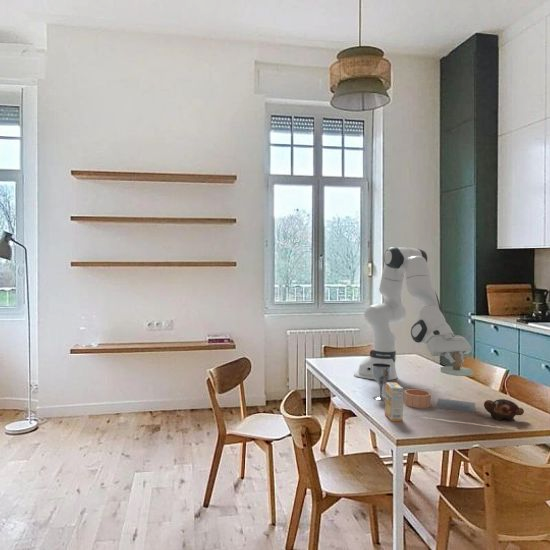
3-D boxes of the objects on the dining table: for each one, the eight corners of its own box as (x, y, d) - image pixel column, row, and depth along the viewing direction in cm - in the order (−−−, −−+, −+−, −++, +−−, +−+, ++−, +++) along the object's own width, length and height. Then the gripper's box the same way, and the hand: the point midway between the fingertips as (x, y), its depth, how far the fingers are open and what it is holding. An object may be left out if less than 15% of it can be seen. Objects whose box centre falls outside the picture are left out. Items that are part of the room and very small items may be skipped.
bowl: (402, 407, 207) (402, 394, 207) (405, 400, 217) (405, 387, 217) (429, 410, 203) (430, 397, 203) (431, 403, 214) (431, 390, 213)
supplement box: (384, 414, 197) (385, 382, 196) (395, 414, 197) (396, 382, 197) (390, 421, 188) (391, 387, 188) (403, 421, 189) (404, 387, 188)
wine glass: (379, 401, 214) (380, 367, 214) (367, 397, 222) (368, 363, 221) (393, 399, 218) (394, 366, 218) (381, 395, 225) (382, 362, 225)
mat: (436, 409, 205) (436, 407, 205) (438, 399, 219) (438, 398, 219) (475, 413, 200) (475, 412, 200) (474, 404, 214) (474, 402, 214)
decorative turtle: (478, 416, 197) (478, 396, 197) (514, 416, 198) (515, 396, 198) (490, 424, 188) (491, 403, 187) (528, 424, 189) (529, 403, 188)
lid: (440, 374, 205) (440, 355, 205) (440, 367, 217) (441, 349, 217) (473, 377, 201) (474, 357, 200) (472, 370, 213) (473, 352, 213)
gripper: (458, 339, 223) (473, 365, 214) (420, 340, 216) (434, 367, 207) (465, 330, 219) (481, 356, 210) (427, 332, 211) (442, 359, 203)
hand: (457, 362), depth 208 cm, fingers closed on lid, 3 cm apart
